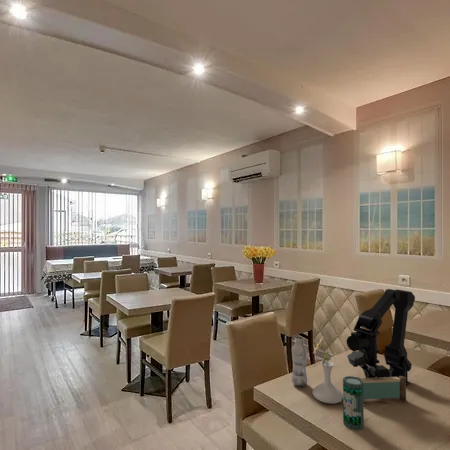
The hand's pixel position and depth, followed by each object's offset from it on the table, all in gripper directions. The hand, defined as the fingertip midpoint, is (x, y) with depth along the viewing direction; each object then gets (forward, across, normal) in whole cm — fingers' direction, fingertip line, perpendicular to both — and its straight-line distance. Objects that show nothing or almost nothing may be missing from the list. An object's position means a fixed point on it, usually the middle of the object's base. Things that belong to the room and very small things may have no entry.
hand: (369, 384), depth 128 cm
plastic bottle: (+4, -10, -26) cm, 28 cm away
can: (+4, +18, -17) cm, 25 cm away
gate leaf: (+2, +6, +1) cm, 6 cm away
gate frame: (+4, +6, +1) cm, 7 cm away
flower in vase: (+4, +2, -19) cm, 20 cm away
